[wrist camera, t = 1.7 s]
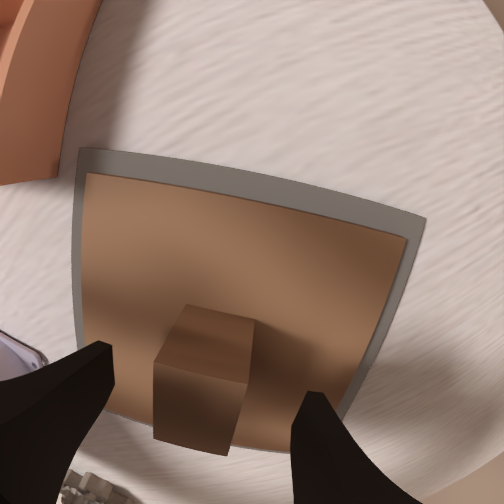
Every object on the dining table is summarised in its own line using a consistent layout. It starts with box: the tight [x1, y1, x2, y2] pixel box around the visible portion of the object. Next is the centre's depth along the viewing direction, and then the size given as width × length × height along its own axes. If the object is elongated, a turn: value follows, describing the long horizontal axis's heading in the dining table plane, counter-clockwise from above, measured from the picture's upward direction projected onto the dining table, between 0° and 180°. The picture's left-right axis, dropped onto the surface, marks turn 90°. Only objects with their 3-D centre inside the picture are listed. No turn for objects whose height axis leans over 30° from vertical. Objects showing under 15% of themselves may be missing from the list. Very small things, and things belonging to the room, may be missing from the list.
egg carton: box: [59, 469, 134, 504], centre depth 19 cm, size 11×8×4 cm
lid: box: [81, 172, 406, 456], centre depth 11 cm, size 13×13×5 cm
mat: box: [71, 147, 426, 454], centre depth 13 cm, size 15×15×1 cm
